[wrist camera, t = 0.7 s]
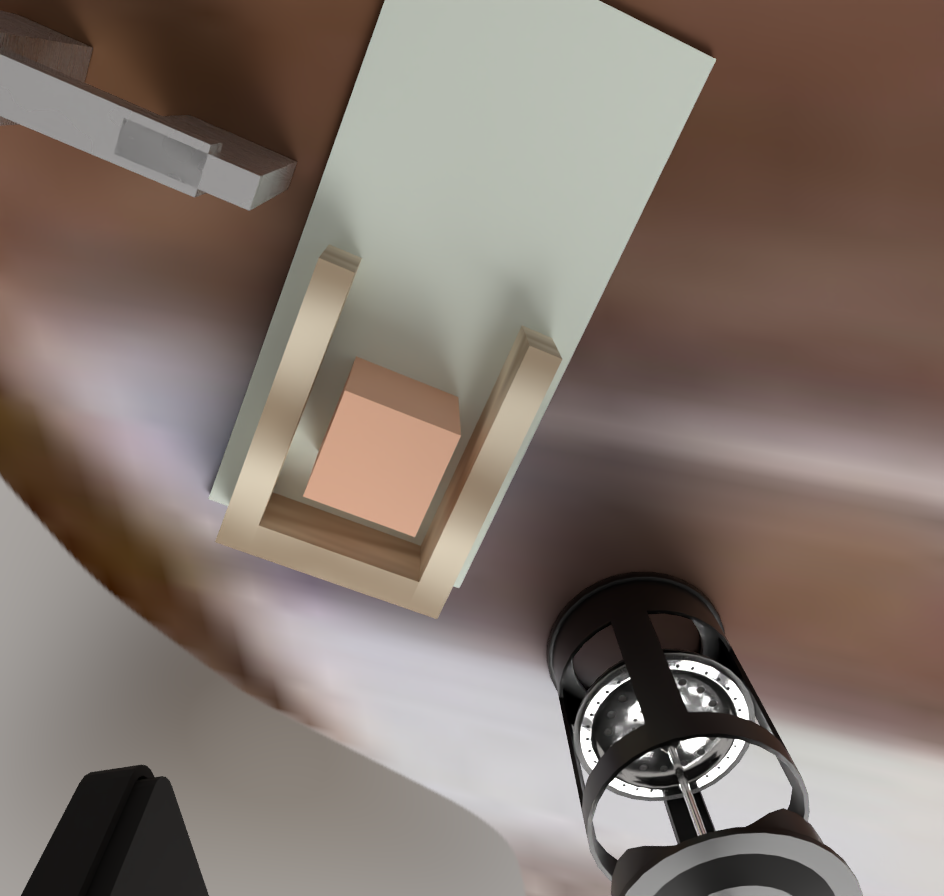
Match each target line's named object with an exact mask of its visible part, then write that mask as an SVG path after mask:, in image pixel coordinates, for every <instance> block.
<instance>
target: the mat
mask: <svg viewBox="0 0 944 896" xmlns="http://www.w3.org/2000/svg"><path fill="white" fill-rule="evenodd" d="M715 61H716V59H715V58H713V57H711V56H709V55H707V54H705V53H703V52H701V51H699V50H697V49H695V48H693V47H691V46H689V45H687V44H685V43H683V42H681V41H679V40H677V39H675V38H673V37H671V36H669V35H667V34H665V33H663V32H661V31H659V30H657V29H655V28H653V27H651V26H649V25H647V24H645V23H643V22H641V21H639V20H637V19H635V18H633V17H631V16H629V15H627V14H625V13H623V12H621V11H619V10H617V9H615V8H613V7H611V6H609V5H607V4H605V3H603V2H601V1H599V0H385V1H384V4H383V7H382V10H381V12H380V15H379V18H378V21H377V24H376V27H375V29H374V32H373V35H372V38H371V41H370V43H369V46H368V49H367V52H366V55H365V58H364V60H363V63H362V66H361V69H360V72H359V75H358V77H357V80H356V83H355V86H354V89H353V92H352V94H351V97H350V100H349V103H348V106H347V109H346V111H345V114H344V117H343V120H342V123H341V125H340V128H339V131H338V134H337V137H336V140H335V142H334V145H333V148H332V151H331V154H330V157H329V159H328V162H327V165H326V168H325V171H324V174H323V176H322V179H321V182H320V185H319V188H318V191H317V193H316V196H315V199H314V202H313V205H312V208H311V210H310V213H309V216H308V219H307V222H306V224H305V227H304V230H303V233H302V236H301V239H300V241H299V244H298V247H297V250H296V253H295V256H294V258H293V261H292V264H291V267H290V270H289V273H288V275H287V278H286V281H285V284H284V287H283V290H282V292H281V295H280V298H279V301H278V304H277V306H276V309H275V312H274V315H273V318H272V321H271V323H270V326H269V329H268V332H267V335H266V338H265V340H264V343H263V346H262V349H261V352H260V355H259V357H258V360H257V363H256V366H255V369H254V372H253V374H252V377H251V380H250V383H249V386H248V389H247V391H246V394H245V397H244V400H243V403H242V405H241V408H240V411H239V414H238V417H237V420H236V422H235V425H234V428H233V431H232V434H231V437H230V439H229V442H228V445H227V448H226V451H225V454H224V456H223V459H222V462H221V465H220V468H219V471H218V473H217V476H216V479H215V482H214V485H213V487H212V490H211V493H210V496H209V499H210V500H212V501H215V502H218V503H221V504H224V505H226V506H229V503H230V500H231V497H232V495H233V492H234V489H235V486H236V484H237V481H238V478H239V475H240V473H241V470H242V467H243V464H244V462H245V459H246V456H247V453H248V451H249V448H250V445H251V442H252V440H253V437H254V434H255V431H256V429H257V426H258V423H259V420H260V418H261V415H262V412H263V409H264V407H265V404H266V401H267V398H268V396H269V393H270V390H271V387H272V385H273V382H274V379H275V376H276V374H277V371H278V368H279V365H280V363H281V360H282V357H283V354H284V352H285V349H286V346H287V343H288V341H289V338H290V335H291V332H292V330H293V327H294V324H295V321H296V319H297V316H298V313H299V310H300V308H301V305H302V302H303V299H304V297H305V294H306V291H307V288H308V286H309V283H310V280H311V277H312V275H313V272H314V269H315V266H316V264H317V261H318V258H319V257H320V255H321V254H322V253H323V251H324V250H325V249H326V248H327V246H328V245H329V244H330V245H332V246H334V247H337V248H339V249H342V250H344V251H346V252H349V253H351V254H354V255H356V256H358V257H361V258H362V260H361V262H360V265H359V267H358V270H357V273H356V275H355V278H354V281H353V283H352V286H351V288H350V291H349V294H348V296H347V299H346V302H345V304H344V307H343V309H342V312H341V315H340V317H339V320H338V323H337V325H336V328H335V330H334V333H333V336H332V338H331V341H330V343H329V346H328V349H327V351H326V354H325V357H324V359H323V362H322V364H321V367H320V370H319V372H318V375H317V378H316V380H315V383H314V385H313V388H312V391H311V393H310V396H309V399H308V401H307V404H306V406H305V409H304V412H303V414H302V417H301V420H300V422H299V425H298V427H297V430H296V433H295V435H294V438H293V441H292V443H291V446H290V448H289V451H288V454H287V456H286V459H285V461H284V464H283V467H282V469H281V472H280V475H279V477H278V480H277V482H276V485H275V488H274V490H273V493H276V494H279V495H282V496H285V497H287V498H290V499H293V500H296V501H298V502H301V503H304V504H307V505H309V506H312V507H315V508H318V509H320V510H323V511H326V512H329V513H331V514H334V515H337V516H340V517H343V518H345V519H348V520H351V521H354V522H356V523H359V524H362V525H365V526H367V527H370V528H373V529H376V530H378V531H381V532H384V533H387V534H389V535H392V536H395V537H398V538H401V539H403V540H406V541H409V542H412V543H414V544H417V545H420V546H421V544H422V542H423V540H424V538H425V535H426V533H427V531H428V529H429V527H430V525H431V522H432V520H433V518H434V516H435V514H436V511H437V509H438V507H439V505H440V503H441V501H442V498H443V496H444V494H445V492H446V490H447V487H448V485H449V483H450V481H451V479H452V477H453V474H454V472H455V470H456V468H457V466H458V463H459V461H460V459H461V457H462V455H463V453H464V450H465V448H466V446H467V444H468V442H469V439H470V437H471V435H472V433H473V431H474V429H475V426H476V424H477V422H478V420H479V418H480V415H481V413H482V411H483V409H484V407H485V405H486V402H487V400H488V398H489V396H490V394H491V392H492V389H493V387H494V385H495V383H496V381H497V378H498V376H499V374H500V372H501V370H502V368H503V365H504V363H505V361H506V359H507V357H508V354H509V352H510V350H511V348H512V346H513V344H514V341H515V339H516V337H517V335H518V333H519V330H520V328H521V326H525V327H527V328H530V329H532V330H534V331H537V332H539V333H541V334H544V335H546V336H549V337H551V338H552V339H553V341H554V343H555V345H556V347H557V349H558V351H559V353H560V355H561V357H562V361H561V363H560V365H559V368H558V370H557V372H556V374H555V376H554V378H553V380H552V382H551V384H550V386H549V388H548V390H547V392H546V394H545V397H544V399H543V401H542V403H541V405H540V407H539V409H538V411H537V413H536V415H535V417H534V419H533V421H532V423H531V426H530V428H529V430H528V432H527V434H526V436H525V438H524V440H523V442H522V444H521V446H520V448H519V450H518V453H517V455H516V457H515V459H514V461H513V463H512V465H511V467H510V469H509V471H508V473H507V475H506V477H505V479H504V482H503V484H502V486H501V488H500V490H499V492H498V494H497V496H496V498H495V500H494V502H493V504H492V506H491V508H490V511H489V513H488V515H487V517H486V519H485V521H484V523H483V525H482V527H481V529H480V531H479V533H478V535H477V538H476V540H475V542H474V544H473V546H472V548H471V550H470V552H469V554H468V556H467V558H466V560H465V562H464V564H463V567H462V569H461V571H460V573H459V575H458V577H457V579H456V581H455V583H454V585H453V586H454V587H457V588H460V586H461V584H462V582H463V580H464V578H465V575H466V573H467V571H468V569H469V567H470V565H471V563H472V561H473V559H474V557H475V555H476V553H477V551H478V549H479V547H480V545H481V543H482V540H483V538H484V536H485V534H486V532H487V530H488V528H489V526H490V524H491V522H492V520H493V518H494V516H495V514H496V512H497V510H498V508H499V506H500V503H501V501H502V499H503V497H504V495H505V493H506V491H507V489H508V487H509V485H510V483H511V481H512V479H513V477H514V475H515V473H516V471H517V468H518V466H519V464H520V462H521V460H522V458H523V456H524V454H525V452H526V450H527V448H528V446H529V444H530V442H531V440H532V438H533V436H534V433H535V431H536V429H537V427H538V425H539V423H540V421H541V419H542V417H543V415H544V413H545V411H546V409H547V407H548V405H549V403H550V401H551V398H552V396H553V394H554V392H555V390H556V388H557V386H558V384H559V382H560V380H561V378H562V376H563V374H564V372H565V370H566V368H567V366H568V363H569V361H570V359H571V357H572V355H573V353H574V351H575V349H576V347H577V345H578V343H579V341H580V339H581V337H582V335H583V333H584V331H585V328H586V326H587V324H588V322H589V320H590V318H591V316H592V314H593V312H594V310H595V308H596V306H597V304H598V302H599V300H600V298H601V296H602V293H603V291H604V289H605V287H606V285H607V283H608V281H609V279H610V277H611V275H612V273H613V271H614V269H615V267H616V265H617V263H618V261H619V258H620V256H621V254H622V252H623V250H624V248H625V246H626V244H627V242H628V240H629V238H630V236H631V234H632V232H633V230H634V228H635V226H636V223H637V221H638V219H639V217H640V215H641V213H642V211H643V209H644V207H645V205H646V203H647V201H648V199H649V197H650V195H651V193H652V191H653V188H654V186H655V184H656V182H657V180H658V178H659V176H660V174H661V172H662V170H663V168H664V166H665V164H666V162H667V160H668V158H669V156H670V153H671V151H672V149H673V147H674V145H675V143H676V141H677V139H678V137H679V135H680V133H681V131H682V129H683V127H684V125H685V123H686V121H687V118H688V116H689V114H690V112H691V110H692V108H693V106H694V104H695V102H696V100H697V98H698V96H699V94H700V92H701V90H702V88H703V86H704V84H705V81H706V79H707V77H708V75H709V73H710V71H711V69H712V67H713V65H714V63H715ZM356 356H357V357H359V358H362V359H364V360H367V361H369V362H372V363H374V364H377V365H379V366H382V367H384V368H387V369H389V370H392V371H394V372H397V373H399V374H402V375H404V376H407V377H409V378H412V379H414V380H417V381H419V382H422V383H424V384H427V385H429V386H432V387H434V388H437V389H439V390H442V391H444V392H447V393H449V394H452V395H454V396H457V397H458V399H459V413H460V428H461V437H460V439H459V441H458V444H457V446H456V448H455V450H454V452H453V455H452V457H451V459H450V461H449V463H448V466H447V468H446V470H445V472H444V474H443V477H442V479H441V481H440V483H439V485H438V488H437V490H436V492H435V494H434V496H433V499H432V501H431V503H430V505H429V507H428V510H427V512H426V514H425V516H424V518H423V521H422V523H421V525H420V527H419V529H418V532H417V534H416V536H415V537H413V536H410V535H408V534H405V533H402V532H399V531H397V530H394V529H391V528H388V527H386V526H383V525H380V524H377V523H375V522H372V521H369V520H366V519H364V518H361V517H358V516H355V515H353V514H350V513H347V512H344V511H342V510H339V509H336V508H333V507H331V506H328V505H325V504H322V503H319V502H317V501H314V500H311V499H308V498H306V497H303V495H304V492H305V489H306V486H307V483H308V481H309V478H310V475H311V472H312V469H313V466H314V463H315V460H316V457H317V455H318V452H319V449H320V447H321V444H322V442H323V439H324V436H325V434H326V431H327V429H328V426H329V424H330V421H331V419H332V416H333V414H334V411H335V409H336V406H337V403H338V401H339V398H340V396H341V393H342V391H343V388H344V386H345V383H346V381H347V378H348V376H349V373H350V371H351V368H352V365H353V363H354V360H355V358H356Z"/></svg>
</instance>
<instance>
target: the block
mask: <svg viewBox="0 0 944 896" xmlns="http://www.w3.org/2000/svg"><path fill="white" fill-rule="evenodd" d="M460 437H461V428H460V413H459V399H458V397H457V396H454V395H452V394H449V393H447V392H444V391H442V390H439V389H437V388H434V387H432V386H429V385H427V384H424V383H422V382H419V381H417V380H414V379H412V378H409V377H407V376H404V375H402V374H399V373H397V372H394V371H392V370H389V369H387V368H384V367H382V366H379V365H377V364H374V363H372V362H369V361H367V360H364V359H362V358H359V357H357V356H356V358H355V360H354V363H353V365H352V368H351V371H350V373H349V376H348V378H347V381H346V383H345V386H344V388H343V391H342V393H341V396H340V398H339V401H338V403H337V406H336V409H335V411H334V414H333V416H332V419H331V421H330V424H329V426H328V429H327V431H326V434H325V436H324V439H323V442H322V444H321V447H320V449H319V452H318V455H317V457H316V460H315V463H314V466H313V469H312V472H311V475H310V478H309V481H308V483H307V486H306V489H305V492H304V495H303V497H306V498H308V499H311V500H314V501H317V502H319V503H322V504H325V505H328V506H331V507H333V508H336V509H339V510H342V511H344V512H347V513H350V514H353V515H355V516H358V517H361V518H364V519H366V520H369V521H372V522H375V523H377V524H380V525H383V526H386V527H388V528H391V529H394V530H397V531H399V532H402V533H405V534H408V535H410V536H413V537H415V536H416V534H417V532H418V529H419V527H420V525H421V523H422V521H423V518H424V516H425V514H426V512H427V510H428V507H429V505H430V503H431V501H432V499H433V496H434V494H435V492H436V490H437V488H438V485H439V483H440V481H441V479H442V477H443V474H444V472H445V470H446V468H447V466H448V463H449V461H450V459H451V457H452V455H453V452H454V450H455V448H456V446H457V444H458V441H459V439H460Z"/></svg>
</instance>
